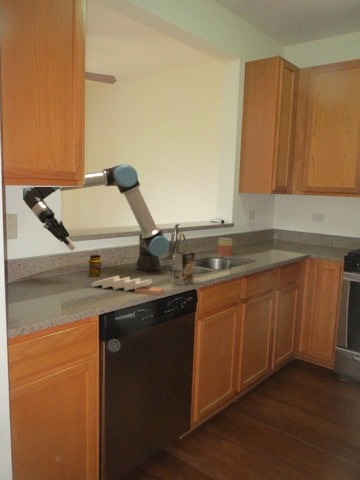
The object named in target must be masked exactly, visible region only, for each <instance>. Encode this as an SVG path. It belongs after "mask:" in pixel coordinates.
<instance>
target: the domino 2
mask: <svg viewBox="0 0 360 480" xmlns="http://www.w3.org/2000/svg"><path fill="white" fill-rule="evenodd" d="M130 280H131V278H130V276H127V277H123V278H120V279H119V280H117V281H114V282H111V283H107V284H103V285H102V287H103V288H107V287H110V286H114V285H118V284H122V283H126V282H128V281H130Z"/></svg>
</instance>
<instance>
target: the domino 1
mask: <svg viewBox="0 0 360 480" xmlns="http://www.w3.org/2000/svg"><path fill="white" fill-rule="evenodd" d="M119 279H121V278H120V275H115V276H111V277H106V278H102V279H99V280H96V281H93V282H94V283H92V287H95V286H99V285H103V284H107V283H111V282H114V281H117V280H119Z"/></svg>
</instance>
